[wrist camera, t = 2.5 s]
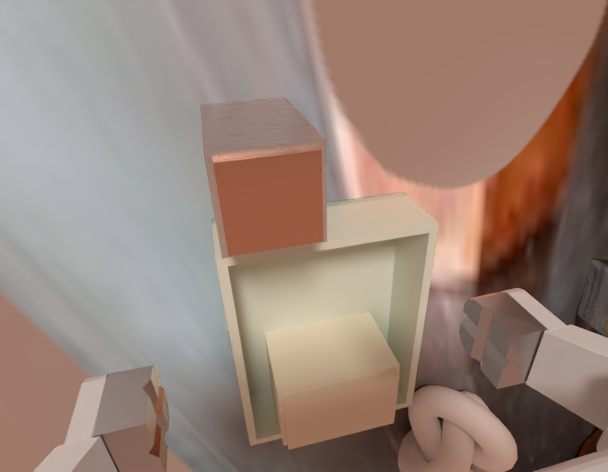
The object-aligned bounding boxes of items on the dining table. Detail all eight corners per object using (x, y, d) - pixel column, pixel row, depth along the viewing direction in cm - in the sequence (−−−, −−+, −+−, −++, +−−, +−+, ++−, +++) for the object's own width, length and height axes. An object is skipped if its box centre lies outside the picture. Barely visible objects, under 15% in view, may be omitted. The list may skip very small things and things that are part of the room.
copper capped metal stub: (284, 97, 24) (328, 142, 16) (289, 174, 27) (329, 245, 19) (200, 104, 23) (204, 156, 15) (213, 184, 26) (222, 263, 18)
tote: (404, 191, 30) (439, 223, 25) (388, 362, 39) (411, 405, 35) (212, 219, 27) (215, 259, 23) (243, 394, 36) (250, 446, 32)
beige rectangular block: (369, 311, 34) (403, 372, 28) (366, 361, 37) (397, 424, 31) (264, 332, 32) (279, 401, 27) (270, 382, 35) (284, 453, 30)
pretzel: (387, 376, 40) (432, 463, 32) (493, 353, 42) (558, 429, 35) (378, 444, 46) (415, 531, 38) (472, 421, 48) (524, 498, 40)
